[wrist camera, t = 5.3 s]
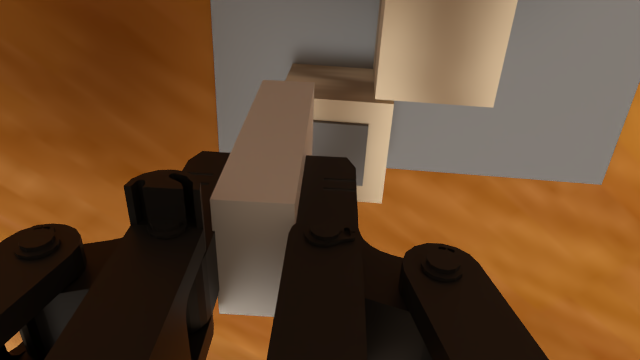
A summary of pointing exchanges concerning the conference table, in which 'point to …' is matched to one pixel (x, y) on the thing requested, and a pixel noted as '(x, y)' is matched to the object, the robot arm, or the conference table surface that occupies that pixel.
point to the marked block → (350, 122)
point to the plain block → (441, 50)
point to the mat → (456, 120)
